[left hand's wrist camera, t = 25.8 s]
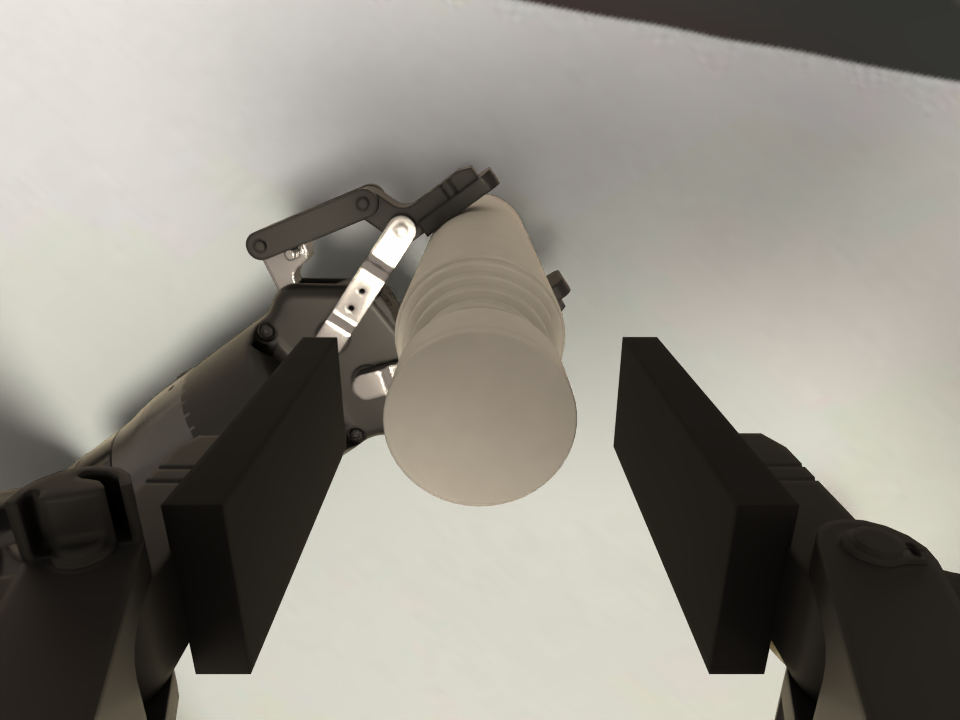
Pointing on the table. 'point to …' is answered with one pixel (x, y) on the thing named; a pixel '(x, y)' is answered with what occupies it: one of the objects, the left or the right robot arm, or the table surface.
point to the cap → (479, 408)
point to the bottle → (480, 274)
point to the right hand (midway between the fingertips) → (528, 229)
